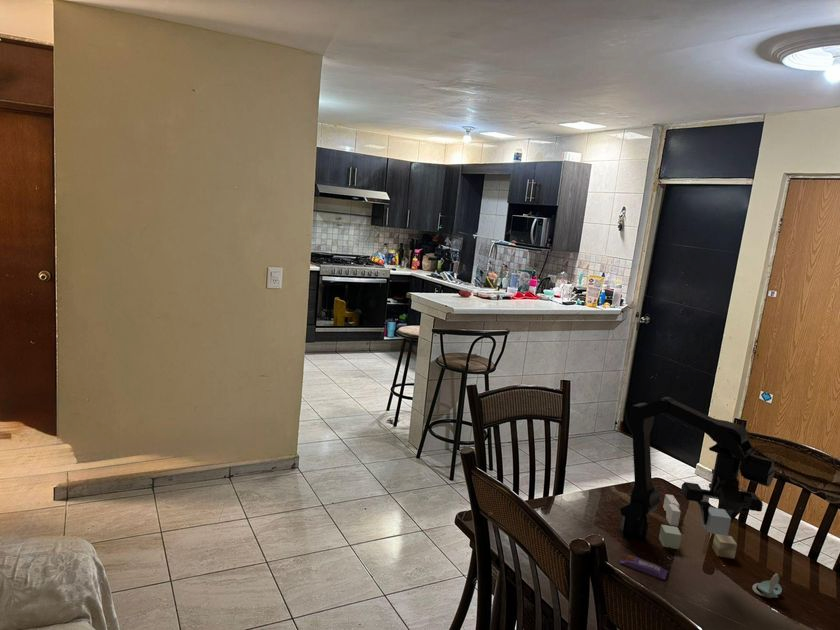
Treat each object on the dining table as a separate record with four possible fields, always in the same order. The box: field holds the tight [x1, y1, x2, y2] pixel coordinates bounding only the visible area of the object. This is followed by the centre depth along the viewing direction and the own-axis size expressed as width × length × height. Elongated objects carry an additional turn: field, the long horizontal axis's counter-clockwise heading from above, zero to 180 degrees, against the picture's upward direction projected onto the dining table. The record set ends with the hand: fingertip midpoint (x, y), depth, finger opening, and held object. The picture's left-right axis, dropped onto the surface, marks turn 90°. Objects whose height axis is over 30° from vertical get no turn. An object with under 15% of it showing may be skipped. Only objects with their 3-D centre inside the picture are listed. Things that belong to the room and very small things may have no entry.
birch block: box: [711, 534, 738, 560], centre depth 165 cm, size 4×4×4 cm
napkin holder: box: [662, 494, 681, 527], centre depth 184 cm, size 15×11×6 cm
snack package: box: [619, 554, 669, 580], centre depth 154 cm, size 12×2×5 cm
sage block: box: [658, 524, 682, 550], centre depth 168 cm, size 4×4×4 cm
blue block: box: [701, 506, 731, 536], centre depth 154 cm, size 5×5×5 cm
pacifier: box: [752, 573, 783, 599], centre depth 148 cm, size 7×6×6 cm
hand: (715, 525), depth 154 cm, fingers closed on blue block, 5 cm apart
